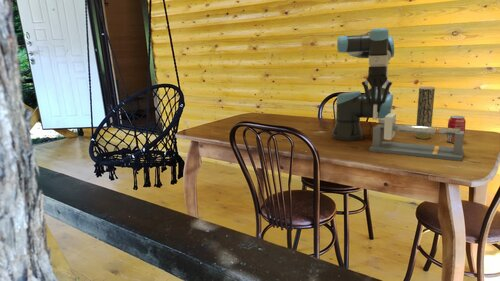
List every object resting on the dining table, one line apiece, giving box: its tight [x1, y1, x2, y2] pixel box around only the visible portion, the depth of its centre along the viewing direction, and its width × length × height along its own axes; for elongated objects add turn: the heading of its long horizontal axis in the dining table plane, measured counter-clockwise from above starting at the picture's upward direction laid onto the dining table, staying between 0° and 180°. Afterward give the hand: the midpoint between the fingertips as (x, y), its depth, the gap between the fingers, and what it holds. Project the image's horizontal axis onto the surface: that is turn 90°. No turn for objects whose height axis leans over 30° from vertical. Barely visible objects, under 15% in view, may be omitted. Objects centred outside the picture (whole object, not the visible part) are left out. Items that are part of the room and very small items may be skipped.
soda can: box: [446, 115, 466, 144], centre depth 168 cm, size 7×7×12 cm
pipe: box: [377, 122, 460, 136], centre depth 155 cm, size 32×3×3 cm, turn 59°
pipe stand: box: [368, 124, 465, 162], centre depth 156 cm, size 36×14×10 cm, turn 59°
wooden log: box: [415, 86, 436, 140], centre depth 176 cm, size 7×7×25 cm
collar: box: [383, 112, 397, 141], centre depth 160 cm, size 3×9×10 cm, turn 149°
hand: (375, 118), depth 163 cm, fingers closed
